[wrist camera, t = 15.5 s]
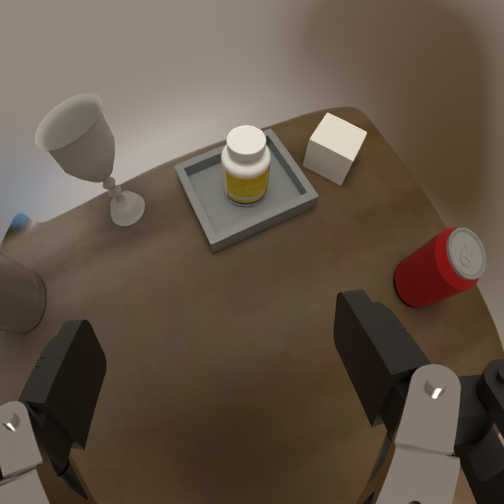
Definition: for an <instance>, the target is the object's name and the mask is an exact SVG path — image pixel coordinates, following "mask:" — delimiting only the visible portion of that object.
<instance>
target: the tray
mask: <svg viewBox="0 0 504 504" xmlns="http://www.w3.org/2000/svg"><path fill="white" fill-rule="evenodd" d="M262 132H263V133H264V135H265V137H266V146H267V147H268V149H269V151H270V155H271V163H270V170H269V178H268V186H267V192H266V194H265V196H264V198H263V199H262V200H261V201H260V202H258V203H257V204H255V205H252V206H239V205H236V204H234V203H233V202H231V201H230V200H229V199H228V198H227V196H226V194H225V191H224V183H223V173H222V163H221V154H222V151H223V149H224V147H225V146H226V145H224V146H221V147H219V148H216V149H214V150H211V151H209V152H206V153H204V154H201V155H199V156H196V157H194V158H192V159H189V160H187V161H185V162H182V163H180V164H178V165H175V166H174V167H175V170H176V173H177V176H178V179H179V181H180V183H181V185H182V187H183V190H184V192H185V194H186V196H187V198H188V200H189V203H190V205H191V207H192V209H193V211H194V213H195V215H196V217H197V220H198V222H199V224H200V226H201V228H202V230H203V232H204V234H205V236H206V239H207V241H208V243H209V245H210V247H211V249H212V251H213V253H216V252H218V251H221V250H223V249H225V248H227V247H229V246H231V245H233V244H236V243H238V242H240V241H242V240H244V239H246V238H249V237H251V236H253V235H255V234H257V233H259V232H262V231H264V230H266V229H268V228H270V227H273V226H275V225H277V224H279V223H281V222H284V221H286V220H288V219H290V218H292V217H295V216H297V215H299V214H301V213H303V212H306V211H308V210H310V209H312V208H314V206H315V204H316V202H317V199H318V197H319V196H318V195H317V193H316V192H315V190H314V189H313V187H312V186H311V184H310V183H309V181H308V180H307V178H306V177H305V175H304V174H303V172H302V171H301V169H300V168H299V167H298V165H297V164H296V162H295V161H294V159H293V158H292V157H291V155H290V154H289V152H288V151H287V150H286V148H285V147H284V145H283V144H282V143H281V141H280V140H279V139H278V137H277V136H276V134H275V133H274V132H273V130H272V129H268V130H265V131H262Z"/></svg>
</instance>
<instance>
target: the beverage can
mask: <svg viewBox="0 0 504 504" xmlns="http://www.w3.org/2000/svg"><path fill="white" fill-rule="evenodd" d="M485 265H486V255H485V250H484V247H483V245H482V243H481V241H480V239H479V238H478V237H477V236H476V234H475V233H473V232H472V231H471V230H469V229H466V228H448V229H445V230H443V231H442V232H441V233H439V234H438V235H437V236H435V237H434V238H432V239H431V240H430V241H428V242H427V243H426V244H424V245H423V246H422V247H420V248H419V249H418V250H416V251H415V252H414V253H412V254H411V255H410V256H408V257H407V258H406V259H404V260H403V261H402V262H401V263H400V264H399V266H398V268H397V270H396V274H395V285H396V289H397V291H398V293H399V295H400V297H401V298H402V299H403V301H404V302H406V303H407V304H409V305H410V306H413V307H424V306H427V305H430V304H433V303H435V302H438V301H441V300H444V299H446V298H449V297H451V296H454V295H456V294H459V293H461V292H463V291H466V290H468V289H470V288H472V287H473V286H474V285H475V284H476V283H477V281H478V279H479V277H480V276H481V275H482V273H483V271H484V269H485Z"/></svg>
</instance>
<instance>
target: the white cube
mask: <svg viewBox="0 0 504 504" xmlns="http://www.w3.org/2000/svg"><path fill="white" fill-rule="evenodd" d="M366 134H367V132H365V131H364V130H362V129H360V128H358V127H356V126H354V125H352V124H350V123H348V122H346V121H344V120H342V119H340V118H338V117H336V116H334V115H331V114H329V113H327V114H326V115H325V117H324V118H323V120H322V121H321V123H320V124H319V126H318V127H317V129H316V130H315V132H314V133H313V135H312V136H311V138H310V139H309V143H308V147H307V151H306V155H305V158H304V162H303V166H304V167H306V168H308V169H309V170H311V171H313V172H315V173H317V174H319V175H321V176H323V177H325V178H327V179H329V180H331V181H333V182H334V183H336V184H338V185H340V186H341V185H342V183H343V181H344V179H345V177H346V175H347V173H348V171H349V169H350V167H351V165H352V163H353V161H354V159H355V157H356V155H357V153H358V151H359V149H360V147H361V145H362V143H363V140H364V138H365V136H366Z"/></svg>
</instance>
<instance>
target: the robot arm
mask: <svg viewBox="0 0 504 504" xmlns="http://www.w3.org/2000/svg"><path fill="white" fill-rule="evenodd" d="M45 302H46V293H45V287H44V284H43V281H42V279H41V278H40V276H39V275H38V274H37V273H36V272H34V271H33V270H31V269H29V268H27V267H25V266H23V265H21V264H19V263H18V262H16V261H14V260H12V259H11V258H9V257H7V256H5V255H3V254H2V253H0V329H2V330H7V331H10V330H11V331H16V332H21V333H24V332H28V331H30V330H32V329H33V328H34V327H36V325H37V324H38V323H39V321H40V319H41V317H42V315H43V312H44V309H45ZM334 342H335V346H336V349H337V351H338V353H339V355H340V357H341V360H342V362H343V364H344V366H345V368H346V370H347V373H348V375H349V377H350V379H351V381H352V384H353V386H354V388H355V390H356V392H357V395H358V397H359V399H360V401H361V404H362V406H363V408H364V410H365V413H366V415H367V417H368V420H369V422H370V424H371V426H372V427H374V426H377V425H380V424H383V423H384V424H385V427H386V429H387V432H386V434H385V437H384V440H383V443H382V446H381V449H380V451H379V454H378V457H377V459H376V462H375V464H374V467H373V469H372V472H371V474H370V477H369V479H368V482H367V484H366V486H365V488H364V490H363V492H362V494H361V495H360V497H359V499H358V501H357V503H356V504H452V500H453V496H454V492H455V488H456V483H457V479H458V474H459V469H460V465H461V467H462V469H463V471H464V474H465V476H466V478H467V481H468V483H469V486H470V488H471V490H472V493H473V495H474V498H475V500H476V503H477V504H504V447H503V445H502V443H501V441H500V439H499V438H498V435H497V434H496V432H495V430H494V428H493V427H494V426H495V425H496V426H497V428H498V429H499V431H500V433H501V435H502V437H503V438H504V360H502V359H498V360H493V361H491V362H490V363H489V364H488V365H487V366H486V368H485V369H484V371H483V373H482V375H473V376H462V377H457V376H456V374H455V373H454V372H453V371H451V370H450V369H448V368H447V367H444V366H441V365H436V364H431V363H430V361H429V360H428V359H427V357H426V356H425V354H424V353H423V352H422V350H421V349H420V347H419V346H418V345H417V343H416V342H415V341H414V339H413V338H412V337H411V335H410V334H409V332H406V328H405V327H404V326H403V324H402V323H400V321H399V319H398V318H397V317H396V315H395V314H394V313H393V311H392V310H391V309H389V308H388V307H386V306H384V305H383V304H381V303H380V302H375V303H372V301H371V300H370V299H369V297H368V296H367V294H366V293H365V292H364V291H363V290H362V289H359V290H353V291H347V292H341V293H338V295H337V301H336V312H335V322H334ZM105 373H106V358H105V354H104V352H103V350H102V348H101V346H100V344H99V342H98V340H97V337H96V335H95V333H94V331H93V328H92V326H91V324H90V323H89V321H87V320H69V321H66V322H65V323H64V324H63V326H62V328H61V329H60V331H59V333H58V335H57V336H55V337H54V338H53V339H52V340H51V341H50V342H49V343H48V344H47V345H46V346H45V348H44V350H43V351H42V353H41V355H40V359H38V361H37V363H36V365H35V368H34V369H33V371H32V373H31V375H30V377H29V379H28V381H27V383H26V385H25V387H24V389H23V391H22V393H21V395H20V398H19V400H18V401H11V402H8V403H6V404H4V405H2V406H1V407H0V504H97V503H96V502H95V500H94V498H93V496H92V495H91V493H90V491H89V489H88V487H87V486H86V484H85V482H84V480H83V478H82V476H81V474H80V472H79V470H78V468H77V466H76V464H75V462H74V460H73V458H72V457H71V456H70V455H69V454H70V450H71V448H75V449H82V450H84V449H85V445H86V441H87V437H88V433H89V429H90V425H91V421H92V418H93V414H94V410H95V407H96V403H97V399H98V396H99V393H100V389H101V386H102V383H103V379H104V376H105ZM453 449H454V451H455V454H456V455H454V453H453Z"/></svg>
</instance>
